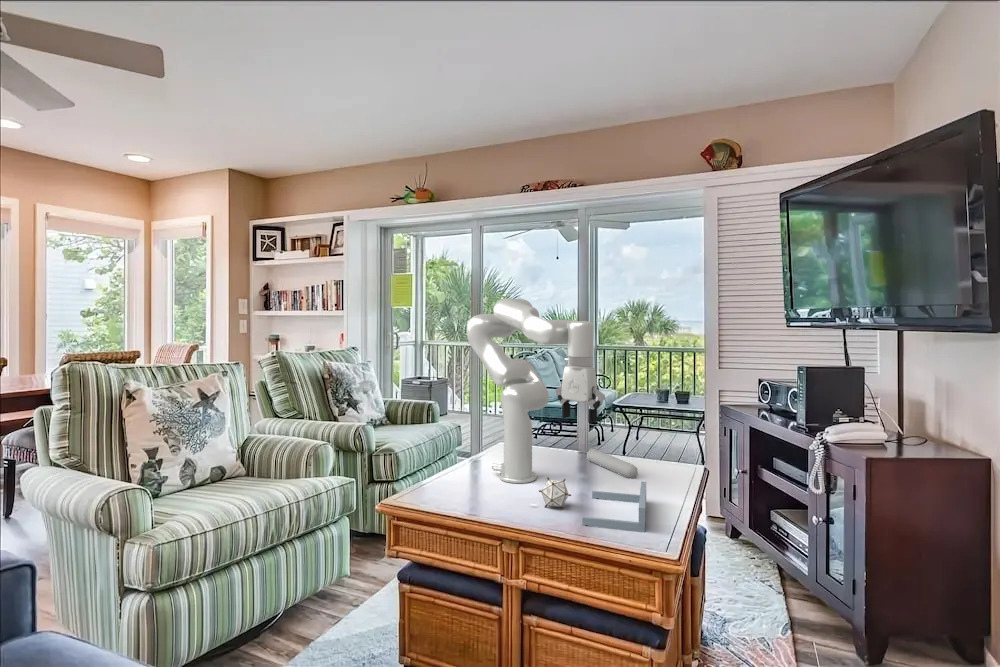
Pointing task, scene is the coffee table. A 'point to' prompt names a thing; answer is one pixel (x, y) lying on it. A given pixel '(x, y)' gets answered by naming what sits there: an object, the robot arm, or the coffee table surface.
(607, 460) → the tube
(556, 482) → the game die
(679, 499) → the coffee table surface
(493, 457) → the coffee table surface
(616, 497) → the tray
